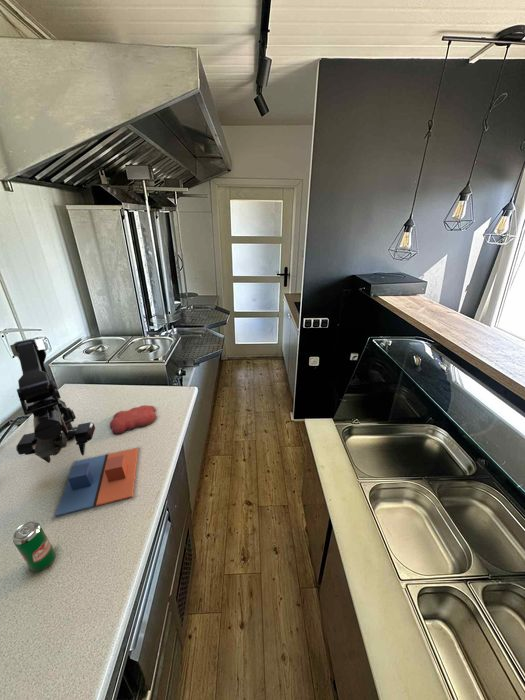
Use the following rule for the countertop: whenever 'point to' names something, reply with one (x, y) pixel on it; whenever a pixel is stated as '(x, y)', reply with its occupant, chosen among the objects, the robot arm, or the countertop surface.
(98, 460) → the sorting mat
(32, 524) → the soda can
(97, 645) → the countertop surface
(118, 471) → the terracotta block
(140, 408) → the red lumpy blob
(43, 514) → the countertop surface
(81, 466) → the slate-blue block
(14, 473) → the countertop surface
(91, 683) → the countertop surface
